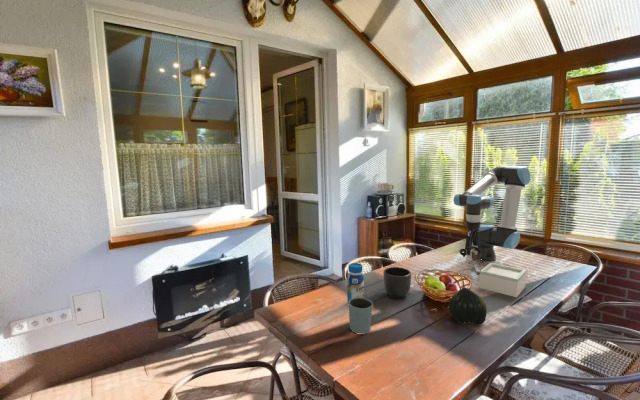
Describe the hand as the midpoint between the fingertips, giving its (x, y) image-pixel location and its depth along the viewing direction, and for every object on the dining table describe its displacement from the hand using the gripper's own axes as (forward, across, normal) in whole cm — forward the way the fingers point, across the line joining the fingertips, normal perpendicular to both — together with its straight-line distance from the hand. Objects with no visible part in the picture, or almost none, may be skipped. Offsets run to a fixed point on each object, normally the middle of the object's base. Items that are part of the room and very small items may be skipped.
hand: (471, 258), depth 191 cm
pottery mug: (0, 0, -1) cm, 1 cm away
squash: (+10, +57, +18) cm, 60 cm away
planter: (+10, +55, -18) cm, 58 cm away
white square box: (+10, +8, +19) cm, 23 cm away
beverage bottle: (+9, +77, -28) cm, 82 cm away
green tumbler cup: (+9, +94, -12) cm, 95 cm away
